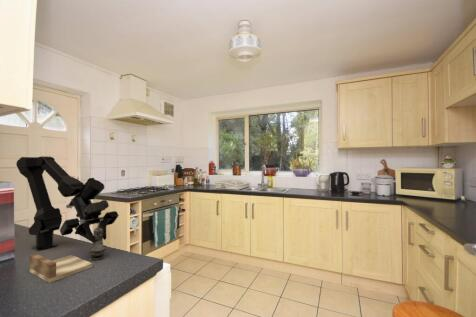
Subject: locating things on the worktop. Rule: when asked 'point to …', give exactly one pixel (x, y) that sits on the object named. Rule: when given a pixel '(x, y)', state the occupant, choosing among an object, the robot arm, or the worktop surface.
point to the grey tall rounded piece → (97, 246)
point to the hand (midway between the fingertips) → (100, 240)
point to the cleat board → (56, 267)
